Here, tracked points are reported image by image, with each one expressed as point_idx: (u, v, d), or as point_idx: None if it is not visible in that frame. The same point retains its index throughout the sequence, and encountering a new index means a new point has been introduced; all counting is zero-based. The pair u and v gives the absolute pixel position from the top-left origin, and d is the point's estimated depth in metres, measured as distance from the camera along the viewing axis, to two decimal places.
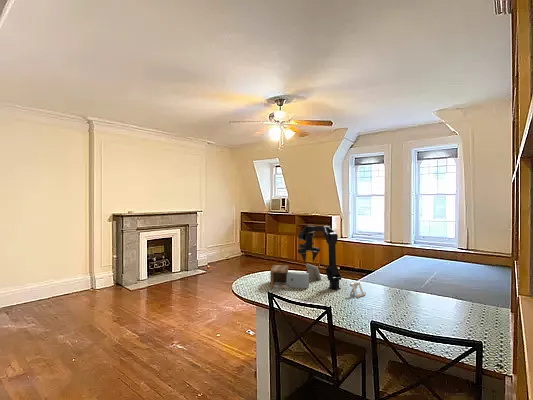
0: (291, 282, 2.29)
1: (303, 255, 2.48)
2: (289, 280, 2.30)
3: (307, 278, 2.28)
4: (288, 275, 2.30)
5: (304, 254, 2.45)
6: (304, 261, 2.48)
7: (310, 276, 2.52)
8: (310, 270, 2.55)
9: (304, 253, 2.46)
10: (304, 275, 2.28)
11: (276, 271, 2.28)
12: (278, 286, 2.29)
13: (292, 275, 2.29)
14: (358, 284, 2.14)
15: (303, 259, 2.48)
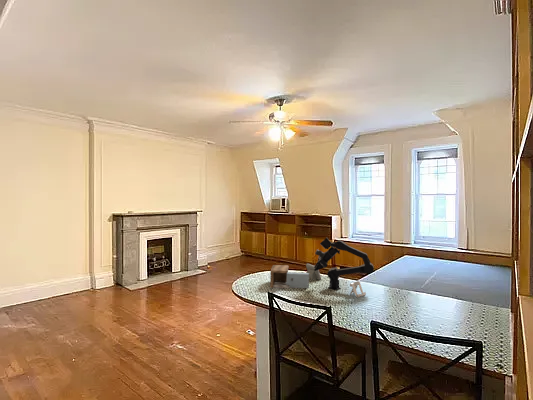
0: (291, 282, 2.29)
1: (319, 266, 2.23)
2: (289, 280, 2.30)
3: (307, 278, 2.28)
4: (288, 275, 2.30)
5: (324, 267, 2.22)
6: (315, 270, 2.25)
7: (310, 276, 2.52)
8: (310, 270, 2.55)
9: None
10: (304, 275, 2.28)
11: (276, 271, 2.28)
12: (278, 286, 2.29)
13: (292, 275, 2.29)
14: (358, 284, 2.14)
15: (316, 268, 2.24)
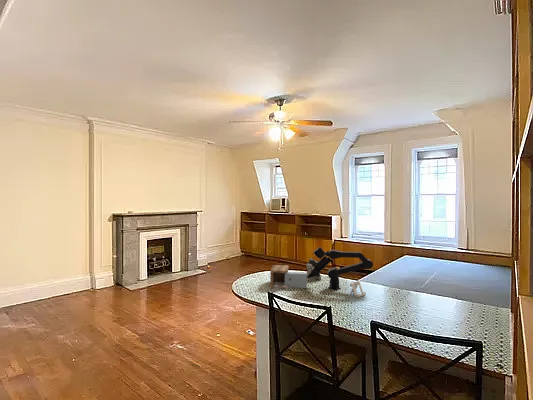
0: (289, 282, 2.30)
1: (312, 273, 2.28)
2: (287, 280, 2.30)
3: (305, 278, 2.28)
4: (286, 275, 2.30)
5: (316, 275, 2.27)
6: None
7: None
8: (310, 270, 2.55)
9: None
10: (302, 275, 2.28)
11: (276, 271, 2.28)
12: (278, 286, 2.29)
13: (290, 275, 2.30)
14: (358, 284, 2.14)
15: (308, 276, 2.29)
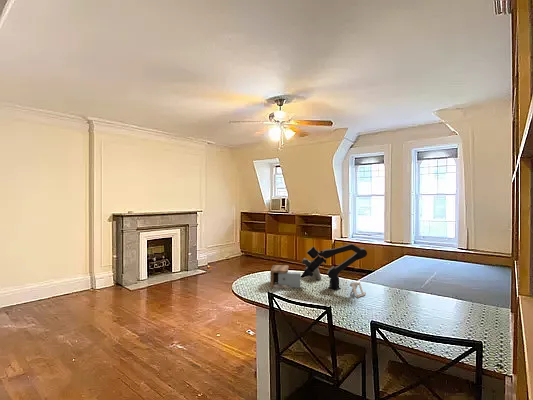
0: (283, 281, 2.30)
1: (306, 273, 2.29)
2: (281, 279, 2.30)
3: (299, 277, 2.29)
4: (280, 274, 2.30)
5: (309, 275, 2.27)
6: (301, 277, 2.30)
7: (310, 276, 2.52)
8: None
9: None
10: (296, 275, 2.29)
11: (276, 271, 2.28)
12: (278, 286, 2.29)
13: (284, 274, 2.30)
14: (358, 284, 2.14)
15: (302, 275, 2.29)
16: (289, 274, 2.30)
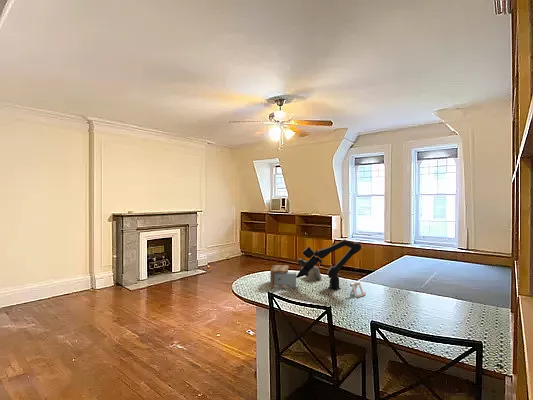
0: (278, 281, 2.31)
1: (301, 273, 2.29)
2: (276, 279, 2.31)
3: (294, 277, 2.29)
4: (275, 274, 2.31)
5: (305, 275, 2.28)
6: (297, 277, 2.30)
7: (310, 276, 2.52)
8: (311, 270, 2.55)
9: None
10: (291, 275, 2.29)
11: (276, 271, 2.28)
12: (278, 286, 2.29)
13: (279, 274, 2.31)
14: (358, 284, 2.14)
15: (297, 275, 2.30)
16: (285, 274, 2.30)
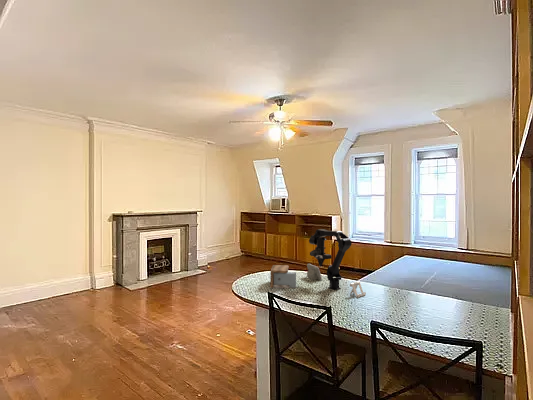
0: (278, 281, 2.31)
1: (321, 260, 2.39)
2: (276, 279, 2.31)
3: (294, 277, 2.29)
4: (275, 274, 2.31)
5: None
6: None
7: (311, 276, 2.52)
8: (311, 270, 2.55)
9: None
10: (291, 275, 2.29)
11: (276, 271, 2.28)
12: (278, 286, 2.29)
13: (279, 274, 2.31)
14: (358, 284, 2.14)
15: (320, 264, 2.39)
16: (285, 274, 2.30)
